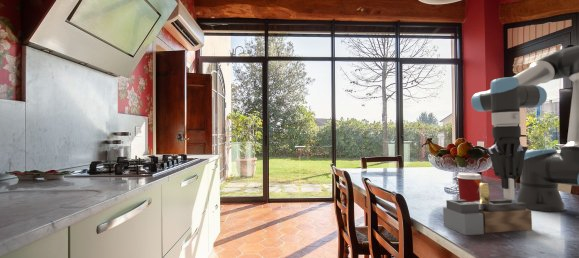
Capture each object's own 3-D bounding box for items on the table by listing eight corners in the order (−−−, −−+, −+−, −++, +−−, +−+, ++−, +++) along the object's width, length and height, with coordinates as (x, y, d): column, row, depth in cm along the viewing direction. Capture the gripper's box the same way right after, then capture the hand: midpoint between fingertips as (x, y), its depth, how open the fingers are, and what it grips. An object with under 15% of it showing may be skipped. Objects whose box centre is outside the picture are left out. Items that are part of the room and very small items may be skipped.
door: (509, 222, 101) (508, 198, 101) (532, 229, 93) (531, 203, 93) (466, 225, 99) (465, 200, 99) (485, 232, 91) (484, 206, 91)
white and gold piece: (485, 206, 97) (484, 182, 97) (492, 209, 94) (492, 184, 94) (460, 208, 96) (459, 183, 96) (466, 210, 93) (466, 185, 93)
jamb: (460, 224, 100) (459, 198, 100) (483, 234, 90) (482, 205, 90) (443, 225, 99) (442, 199, 99) (465, 235, 89) (464, 206, 89)
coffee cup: (487, 217, 107) (486, 175, 108) (462, 216, 109) (460, 175, 109) (477, 211, 116) (476, 172, 116) (454, 211, 117) (453, 172, 118)
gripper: (497, 125, 93) (500, 202, 92) (534, 124, 95) (538, 199, 94) (479, 126, 100) (482, 197, 100) (513, 125, 102) (516, 195, 102)
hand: (509, 198), depth 97 cm, fingers closed
